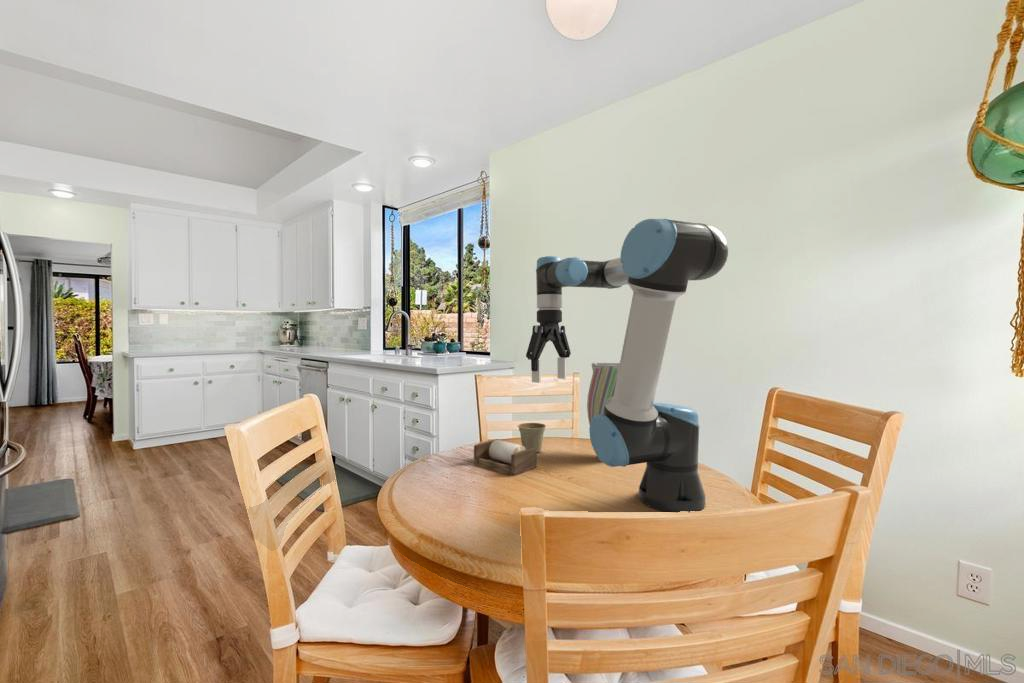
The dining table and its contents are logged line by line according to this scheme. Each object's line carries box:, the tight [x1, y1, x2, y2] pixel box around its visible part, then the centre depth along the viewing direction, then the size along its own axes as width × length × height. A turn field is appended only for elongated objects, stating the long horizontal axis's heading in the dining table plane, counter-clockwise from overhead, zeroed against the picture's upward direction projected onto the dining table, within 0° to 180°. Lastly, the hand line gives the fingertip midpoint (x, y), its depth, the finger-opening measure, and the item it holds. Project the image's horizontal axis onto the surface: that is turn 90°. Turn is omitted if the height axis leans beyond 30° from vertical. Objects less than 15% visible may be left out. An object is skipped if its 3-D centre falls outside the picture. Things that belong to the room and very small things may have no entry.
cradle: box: [473, 438, 538, 477], centre depth 138 cm, size 16×10×6 cm, turn 49°
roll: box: [489, 439, 526, 464], centre depth 139 cm, size 10×6×6 cm, turn 48°
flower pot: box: [517, 422, 547, 453], centre depth 154 cm, size 9×9×9 cm
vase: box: [586, 362, 620, 463], centre depth 144 cm, size 14×14×30 cm
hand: (549, 380), depth 139 cm, fingers open, 13 cm apart
